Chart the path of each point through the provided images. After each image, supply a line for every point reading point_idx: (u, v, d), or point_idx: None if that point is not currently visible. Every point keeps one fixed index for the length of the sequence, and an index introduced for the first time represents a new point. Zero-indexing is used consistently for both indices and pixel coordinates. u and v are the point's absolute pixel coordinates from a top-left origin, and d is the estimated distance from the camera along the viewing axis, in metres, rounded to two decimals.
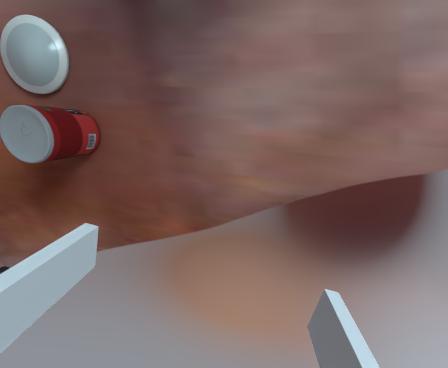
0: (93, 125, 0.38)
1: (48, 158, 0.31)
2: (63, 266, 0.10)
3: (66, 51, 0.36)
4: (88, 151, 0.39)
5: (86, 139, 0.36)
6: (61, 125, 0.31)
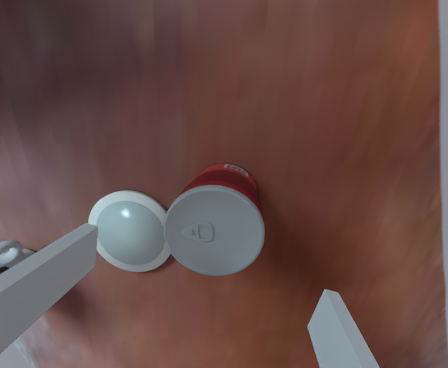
0: (212, 165, 0.24)
1: (257, 207, 0.16)
2: (63, 266, 0.10)
3: (122, 191, 0.28)
4: (252, 179, 0.24)
5: (230, 169, 0.22)
6: (201, 180, 0.18)
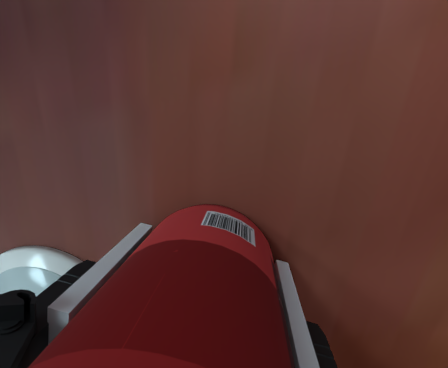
0: (182, 212, 0.12)
1: None
2: None
3: (25, 248, 0.15)
4: (263, 243, 0.11)
5: (215, 232, 0.09)
6: (103, 317, 0.05)
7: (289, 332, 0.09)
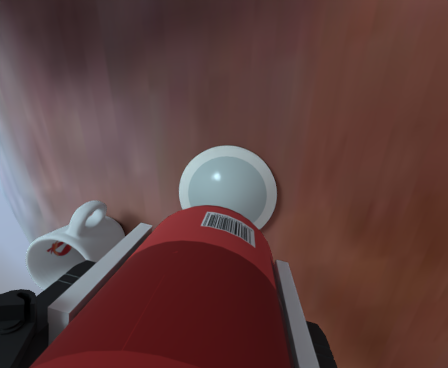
0: (181, 213, 0.12)
1: None
2: None
3: (222, 146, 0.25)
4: (263, 244, 0.11)
5: (215, 233, 0.09)
6: (102, 319, 0.05)
7: (289, 332, 0.09)
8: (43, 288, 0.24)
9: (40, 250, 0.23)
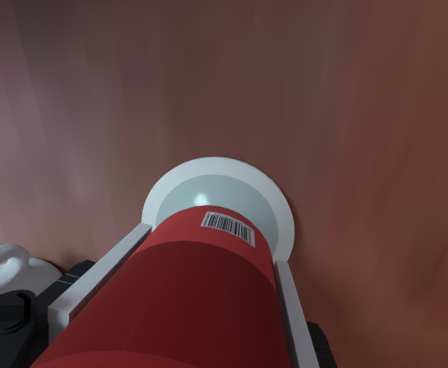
0: (181, 213, 0.12)
1: None
2: None
3: (207, 157, 0.16)
4: (263, 244, 0.11)
5: (215, 233, 0.09)
6: (102, 319, 0.05)
7: (289, 332, 0.09)
8: None
9: None
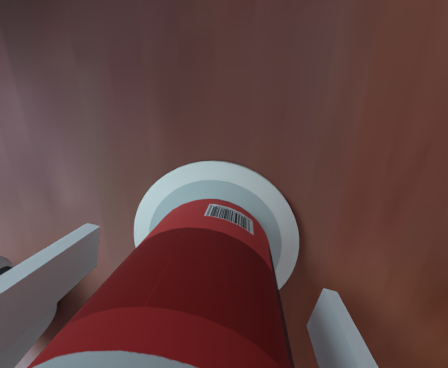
0: (186, 205, 0.13)
1: None
2: (65, 266, 0.10)
3: (204, 161, 0.14)
4: (261, 233, 0.12)
5: (217, 221, 0.10)
6: (124, 287, 0.06)
7: None
8: None
9: None
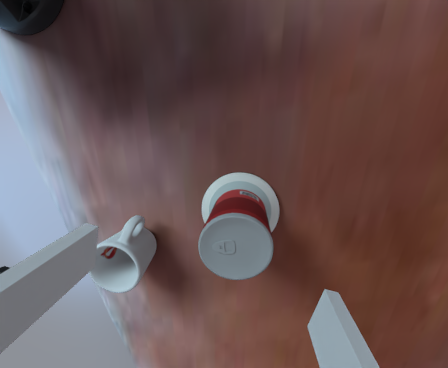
0: (229, 191, 0.31)
1: (267, 228, 0.22)
2: (63, 266, 0.10)
3: (236, 172, 0.32)
4: (261, 202, 0.30)
5: (245, 195, 0.28)
6: (225, 207, 0.24)
7: None
8: (98, 284, 0.30)
9: (97, 254, 0.30)
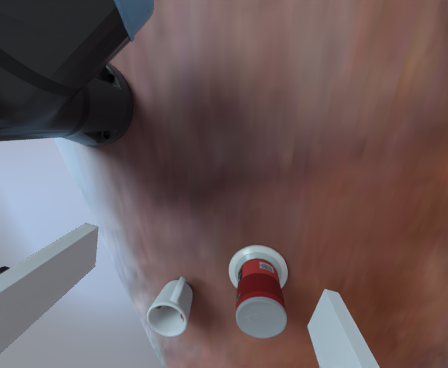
0: (251, 262, 0.41)
1: (283, 306, 0.33)
2: (63, 266, 0.10)
3: (255, 245, 0.43)
4: (275, 271, 0.41)
5: (264, 270, 0.39)
6: (253, 288, 0.35)
7: None
8: (155, 330, 0.41)
9: (154, 309, 0.41)
